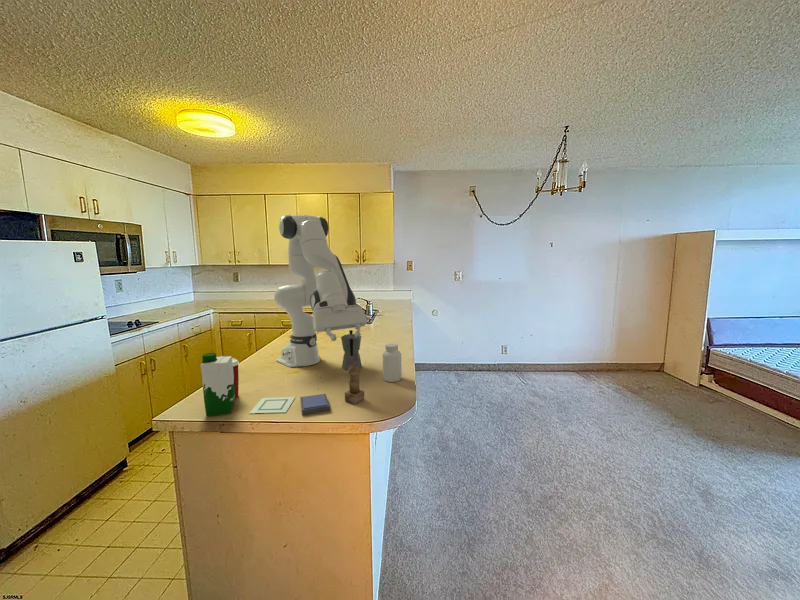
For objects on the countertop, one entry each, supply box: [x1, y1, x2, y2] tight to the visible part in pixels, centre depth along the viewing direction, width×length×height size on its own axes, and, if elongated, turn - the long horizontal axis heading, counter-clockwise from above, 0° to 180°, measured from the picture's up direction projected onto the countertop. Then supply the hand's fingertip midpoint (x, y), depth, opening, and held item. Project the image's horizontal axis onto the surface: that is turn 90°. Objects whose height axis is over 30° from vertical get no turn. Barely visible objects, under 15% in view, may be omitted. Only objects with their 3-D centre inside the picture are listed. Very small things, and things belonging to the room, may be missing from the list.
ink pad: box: [299, 393, 331, 416], centre depth 115 cm, size 11×9×2 cm
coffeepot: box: [340, 329, 362, 371], centre depth 154 cm, size 15×9×18 cm, turn 9°
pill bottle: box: [382, 343, 402, 383], centre depth 140 cm, size 8×8×15 cm
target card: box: [249, 396, 296, 415], centre depth 116 cm, size 12×12×1 cm
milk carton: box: [200, 352, 236, 417], centre depth 111 cm, size 9×9×20 cm
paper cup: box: [232, 357, 240, 399], centre depth 122 cm, size 8×8×14 cm
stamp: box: [344, 365, 365, 405], centre depth 119 cm, size 5×5×13 cm
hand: (346, 338), depth 119 cm, fingers open, 8 cm apart
